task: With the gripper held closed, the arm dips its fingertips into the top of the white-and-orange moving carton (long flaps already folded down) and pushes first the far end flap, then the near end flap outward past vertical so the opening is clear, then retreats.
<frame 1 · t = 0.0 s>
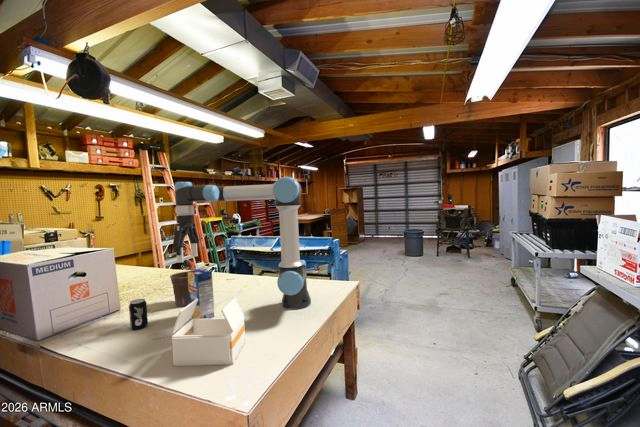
hand: (187, 259, 133), 28 cm above the workbench, fingers open, 13 cm apart
beverage box: (202, 317, 134), on the workbench
beverage can: (139, 327, 125), on the workbench
far end flap: (185, 314, 99), point 14 cm above the workbench, hinge at -24.0°
plant pot: (188, 303, 155), on the workbench
near end flap: (233, 313, 99), point 14 cm above the workbench, hinge at -24.0°
carton: (211, 353, 100), on the workbench
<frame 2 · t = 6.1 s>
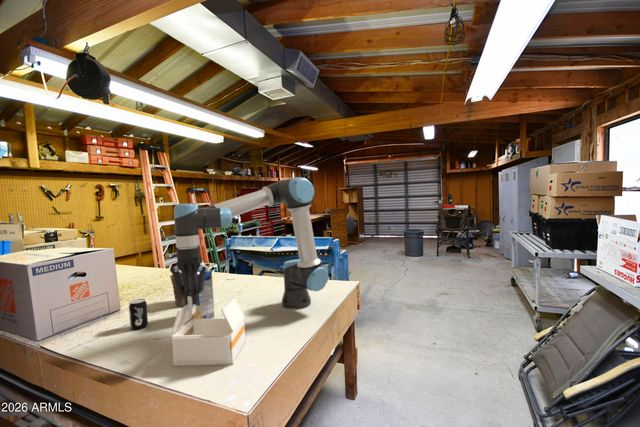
hand: (192, 313, 99), 15 cm above the workbench, fingers closed
far end flap: (184, 314, 99), point 15 cm above the workbench, hinge at -19.6°, touching gripper
everything else where it was.
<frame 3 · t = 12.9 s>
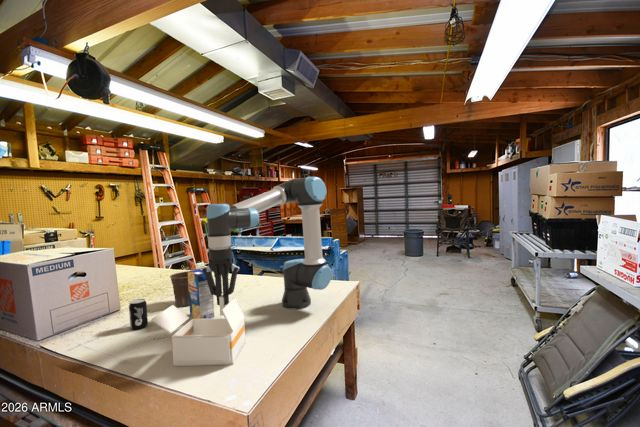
hand: (223, 313, 99), 14 cm above the workbench, fingers closed
far end flap: (171, 318, 100), point 13 cm above the workbench, hinge at 49.9°
near end flap: (233, 313, 99), point 14 cm above the workbench, hinge at -23.8°, touching gripper
everything else where it was.
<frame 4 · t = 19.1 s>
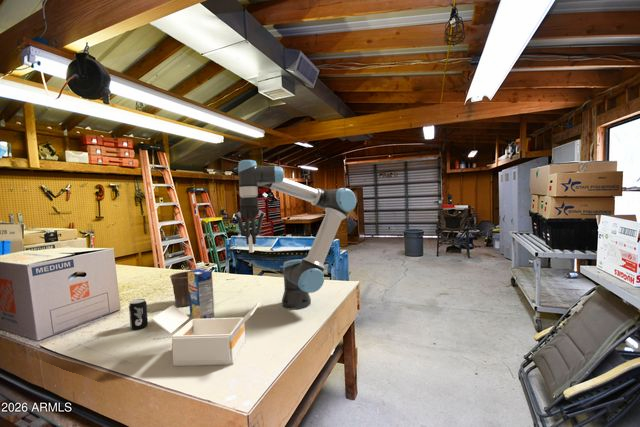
hand: (251, 251, 120), 32 cm above the workbench, fingers closed
near end flap: (247, 315, 99), point 13 cm above the workbench, hinge at 47.0°
everything else where it was.
at the end: far end flap at +50° (first picture: -24°); near end flap at +47° (first picture: -24°) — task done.
